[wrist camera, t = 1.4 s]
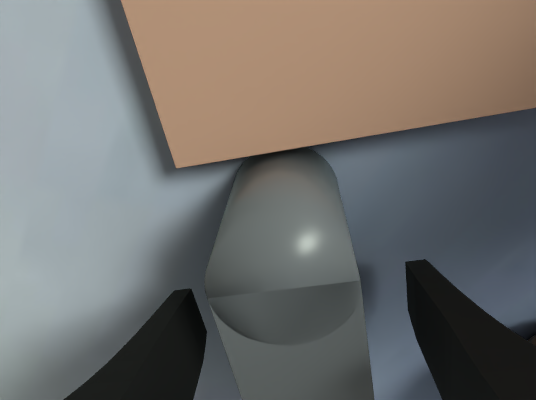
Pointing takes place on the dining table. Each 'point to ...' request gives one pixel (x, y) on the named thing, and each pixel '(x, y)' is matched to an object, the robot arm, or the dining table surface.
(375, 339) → the dining table surface
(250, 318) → the plug
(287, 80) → the mat
